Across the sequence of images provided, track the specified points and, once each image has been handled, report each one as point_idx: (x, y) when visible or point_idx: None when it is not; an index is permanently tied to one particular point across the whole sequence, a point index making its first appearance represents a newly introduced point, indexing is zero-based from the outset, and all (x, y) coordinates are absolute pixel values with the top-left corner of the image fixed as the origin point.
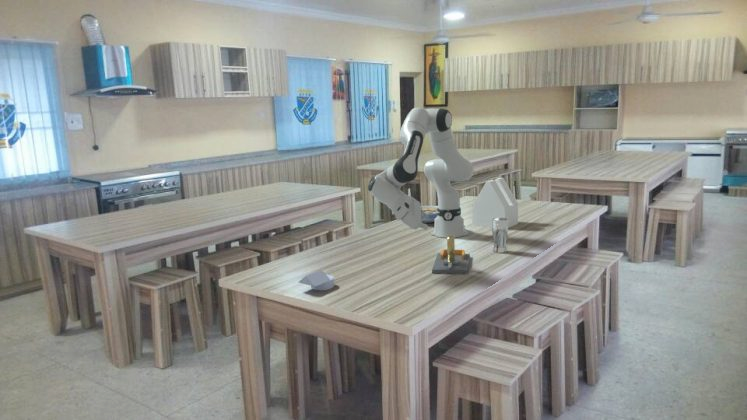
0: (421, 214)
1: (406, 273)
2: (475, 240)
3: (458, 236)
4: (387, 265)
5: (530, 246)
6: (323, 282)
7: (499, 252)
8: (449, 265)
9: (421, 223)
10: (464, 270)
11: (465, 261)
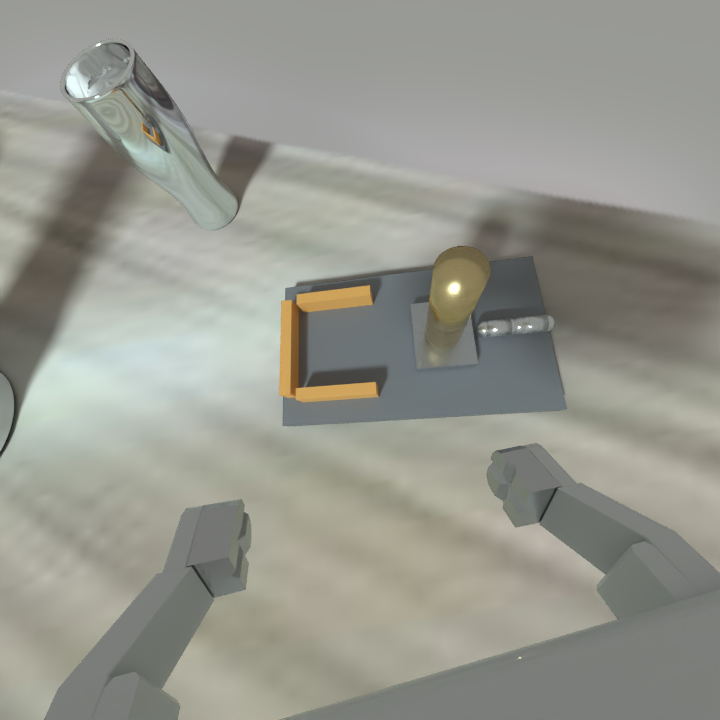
0: (181, 640)
1: None
2: (67, 312)
3: (6, 382)
4: None
5: None
6: None
7: (237, 205)
8: (552, 320)
9: (692, 551)
10: (534, 266)
11: (400, 285)
